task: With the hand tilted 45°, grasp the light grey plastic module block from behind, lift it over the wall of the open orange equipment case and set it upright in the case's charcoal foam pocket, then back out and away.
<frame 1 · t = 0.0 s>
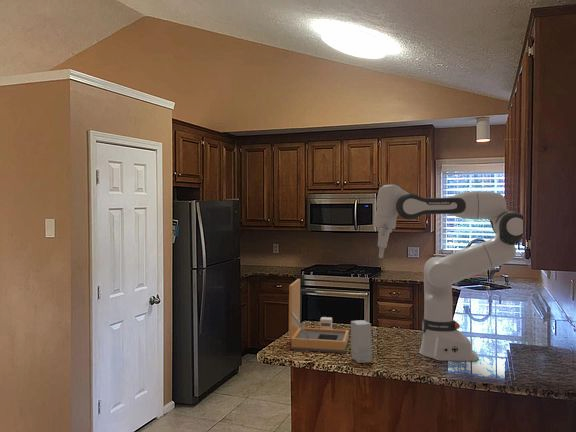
hand: (381, 256, 213), 39 cm above the worktop, tool pointing down, fingers open, 8 cm apart
skincare box: (360, 360, 201), on the worktop
equipment case: (320, 344, 222), on the worktop
module: (326, 334, 239), on the worktop
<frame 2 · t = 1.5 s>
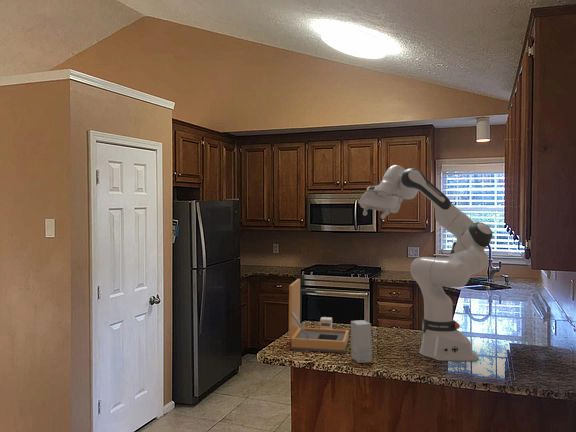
hand: (373, 216, 242), 55 cm above the worktop, tool tilted 40°, fingers open, 8 cm apart
nothing on the worktop moved.
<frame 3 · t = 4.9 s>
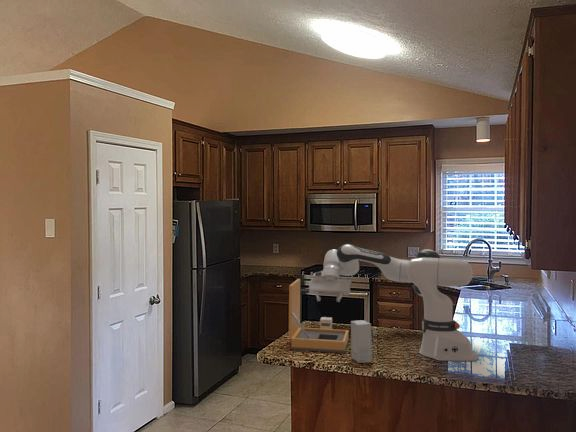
hand: (328, 300, 249), 14 cm above the worktop, tool tilted 45°, fingers open, 8 cm apart
nothing on the worktop moved.
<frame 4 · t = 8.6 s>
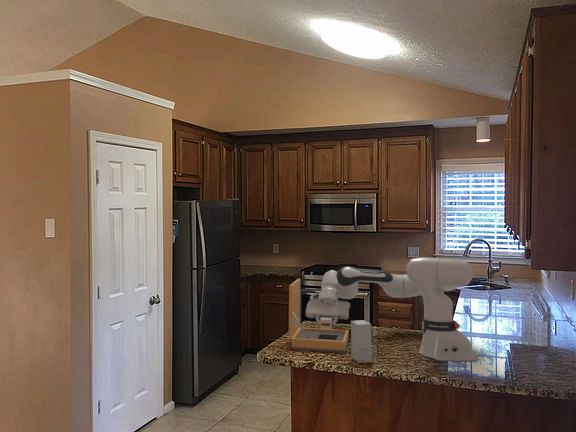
hand: (326, 325, 239), 4 cm above the worktop, tool tilted 45°, fingers closed on module, 5 cm apart
module: (326, 334, 239), on the worktop, touching gripper
everything else where it was.
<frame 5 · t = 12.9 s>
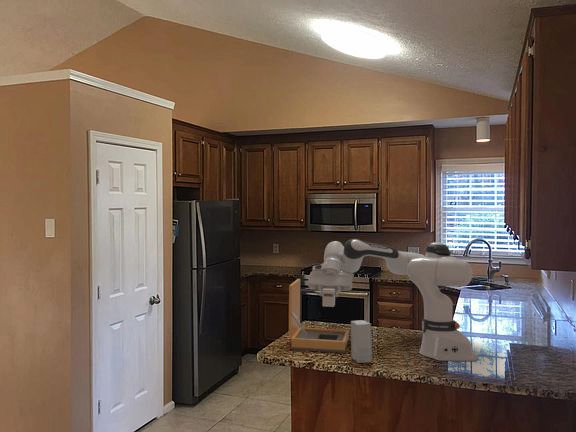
hand: (328, 295, 230), 19 cm above the worktop, tool tilted 45°, fingers closed on module, 5 cm apart
module: (328, 305, 231), point 15 cm above the worktop, touching gripper
everything else where it was.
when the fingers open (7 cm above the worktop, at t = 17.3 s): module drops 1 cm, resting on equipment case.
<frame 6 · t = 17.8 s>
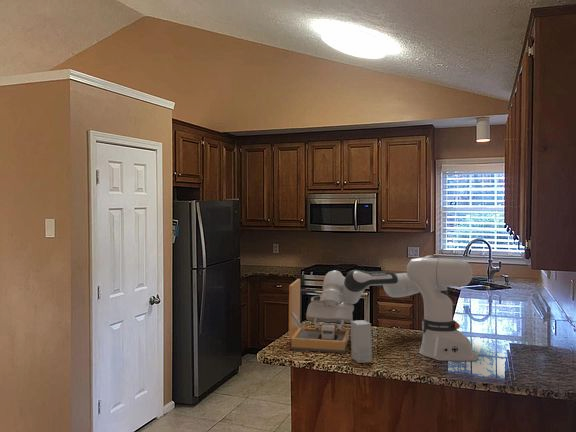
hand: (328, 329, 220), 7 cm above the worktop, tool tilted 45°, fingers open, 8 cm apart
module: (328, 342, 221), point 1 cm above the worktop, touching equipment case
everything else where it was.
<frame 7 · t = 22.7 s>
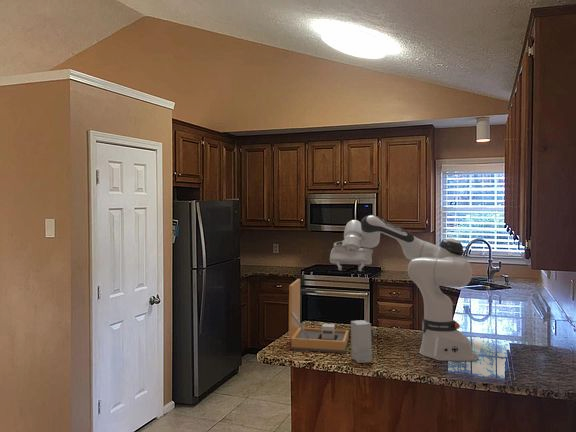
hand: (349, 269, 245), 29 cm above the worktop, tool tilted 45°, fingers open, 8 cm apart
nothing on the worktop moved.
at the end: module 0.1 cm from the target spot on the equipment case, point 1.0 cm above the equipment case's base; module tilted 0°; the gripper is holding nothing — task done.
